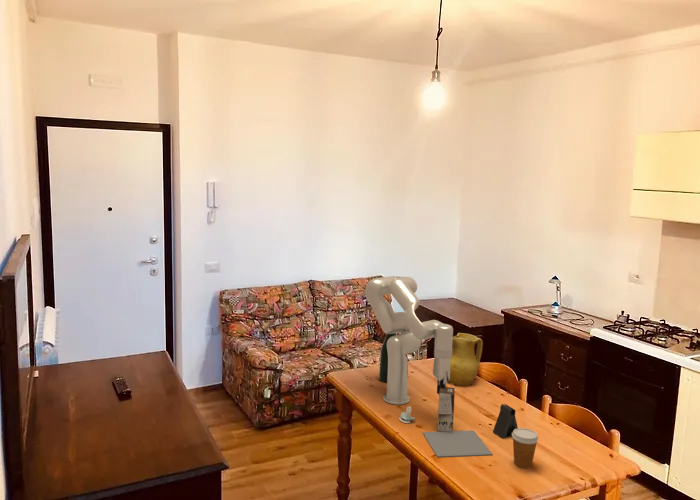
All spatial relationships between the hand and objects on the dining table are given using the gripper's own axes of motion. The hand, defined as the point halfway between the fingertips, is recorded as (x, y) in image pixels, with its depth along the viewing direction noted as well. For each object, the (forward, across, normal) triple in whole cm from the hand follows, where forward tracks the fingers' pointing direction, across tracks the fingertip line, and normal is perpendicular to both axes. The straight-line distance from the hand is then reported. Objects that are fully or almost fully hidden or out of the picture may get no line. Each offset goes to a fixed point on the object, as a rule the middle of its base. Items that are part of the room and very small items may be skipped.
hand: (440, 393), depth 242 cm
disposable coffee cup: (+12, +40, +20) cm, 46 cm away
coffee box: (+12, +9, 0) cm, 15 cm away
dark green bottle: (+11, -48, -12) cm, 51 cm away
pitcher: (+12, -43, +26) cm, 52 cm away
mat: (+12, +23, 0) cm, 26 cm away
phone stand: (+12, +16, +24) cm, 31 cm away
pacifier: (+12, 0, -15) cm, 19 cm away
